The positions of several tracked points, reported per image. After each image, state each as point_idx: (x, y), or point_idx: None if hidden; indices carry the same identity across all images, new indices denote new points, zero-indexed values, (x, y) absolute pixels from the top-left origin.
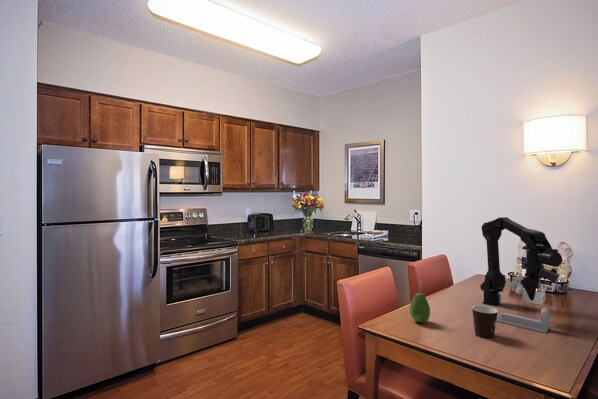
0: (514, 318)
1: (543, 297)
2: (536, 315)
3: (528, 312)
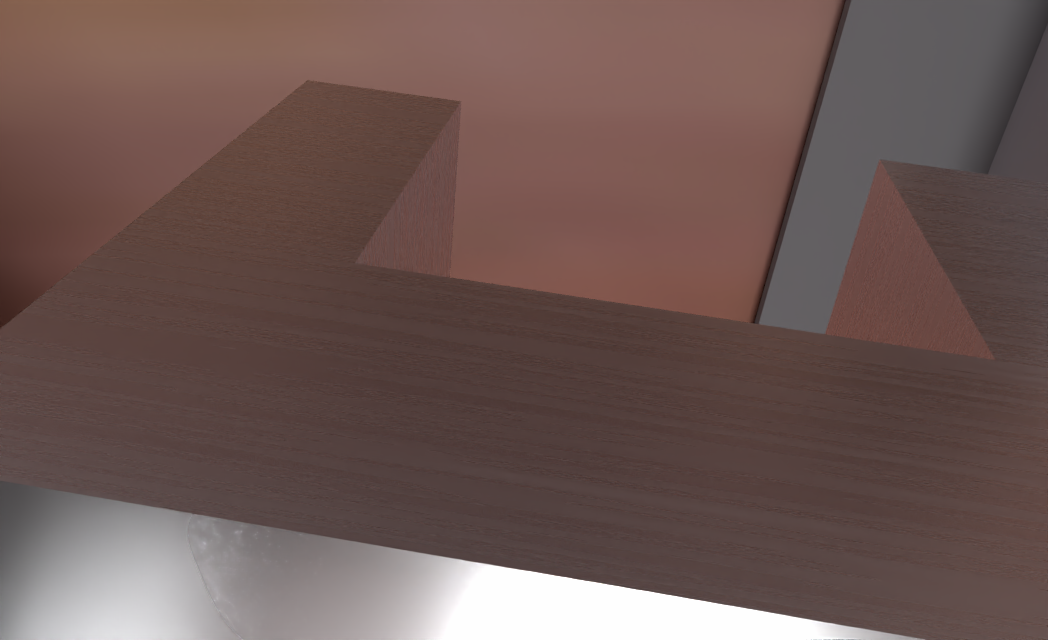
0: None
1: (399, 233)
2: (106, 108)
3: (36, 248)
